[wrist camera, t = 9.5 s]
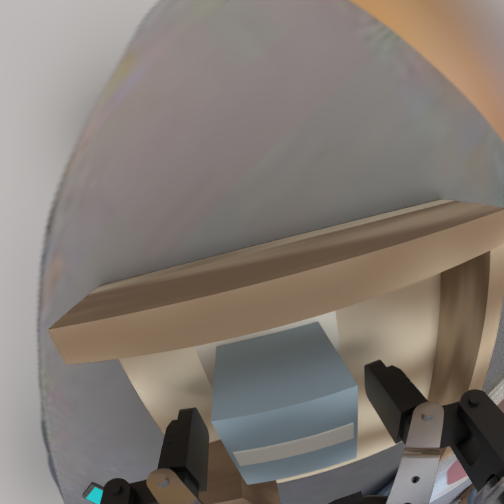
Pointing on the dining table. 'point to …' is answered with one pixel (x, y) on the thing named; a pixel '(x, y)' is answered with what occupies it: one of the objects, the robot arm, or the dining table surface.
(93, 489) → the flat teal bar
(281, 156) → the dining table surface
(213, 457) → the walnut block
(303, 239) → the tray
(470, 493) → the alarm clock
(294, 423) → the block
